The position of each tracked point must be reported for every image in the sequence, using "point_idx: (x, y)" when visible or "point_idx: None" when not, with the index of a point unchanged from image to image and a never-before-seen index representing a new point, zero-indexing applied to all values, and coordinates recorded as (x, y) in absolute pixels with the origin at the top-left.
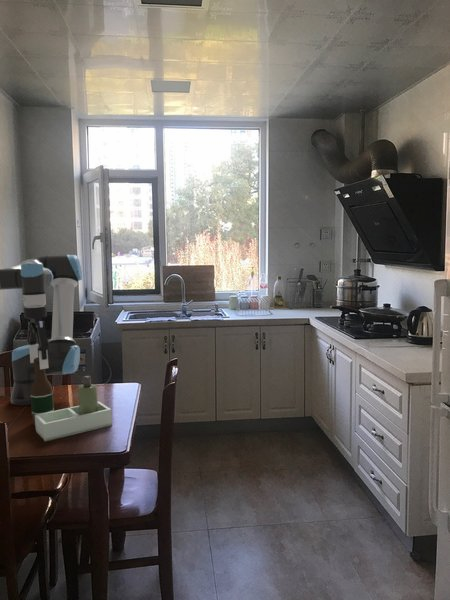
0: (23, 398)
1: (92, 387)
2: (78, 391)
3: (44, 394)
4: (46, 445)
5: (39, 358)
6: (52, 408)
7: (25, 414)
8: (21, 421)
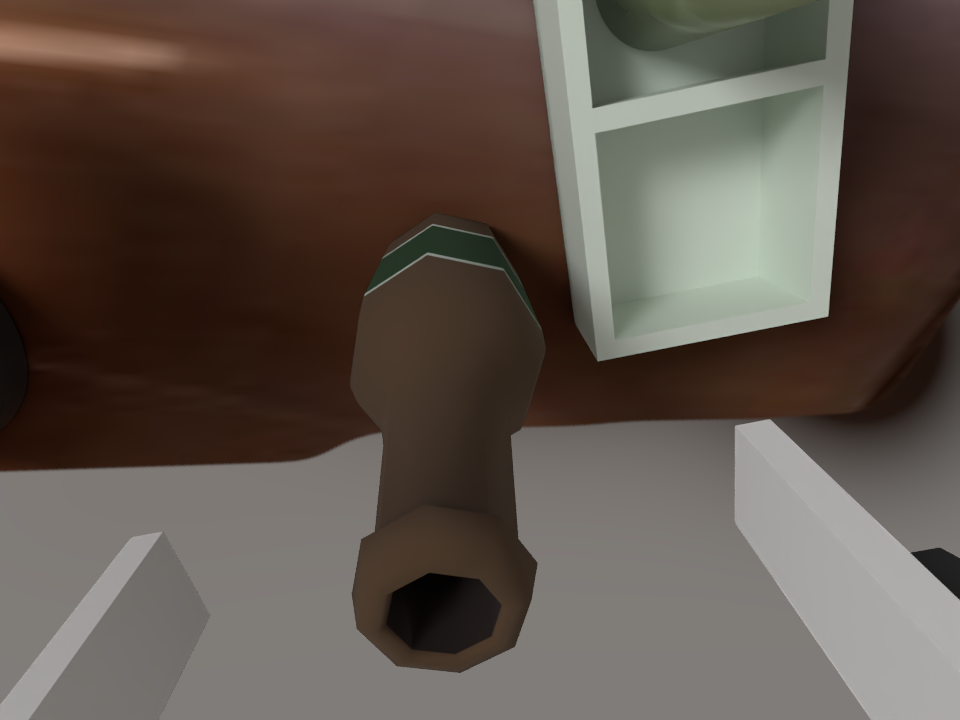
0: None
1: None
2: (808, 3)
3: (541, 333)
4: None
5: (854, 667)
6: (493, 241)
7: (227, 369)
8: None
